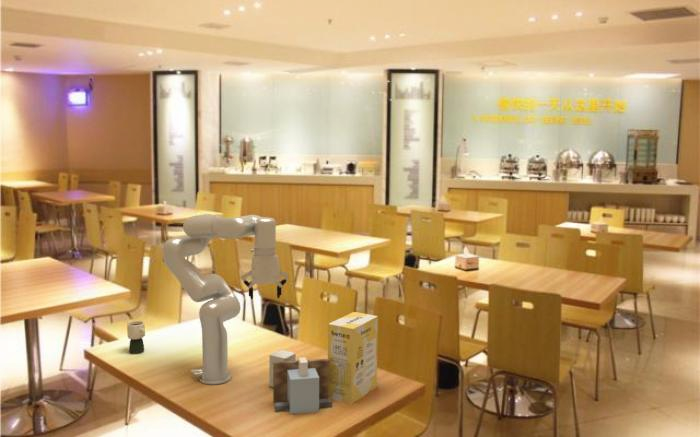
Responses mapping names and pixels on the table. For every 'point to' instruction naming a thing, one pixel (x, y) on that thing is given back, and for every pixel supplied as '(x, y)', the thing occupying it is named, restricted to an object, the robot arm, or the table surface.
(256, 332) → the table surface
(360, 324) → the pasta box
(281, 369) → the walnut wall board
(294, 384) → the slate cabinet
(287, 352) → the supplement box
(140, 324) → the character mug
